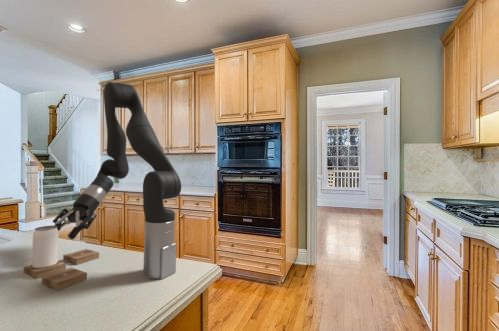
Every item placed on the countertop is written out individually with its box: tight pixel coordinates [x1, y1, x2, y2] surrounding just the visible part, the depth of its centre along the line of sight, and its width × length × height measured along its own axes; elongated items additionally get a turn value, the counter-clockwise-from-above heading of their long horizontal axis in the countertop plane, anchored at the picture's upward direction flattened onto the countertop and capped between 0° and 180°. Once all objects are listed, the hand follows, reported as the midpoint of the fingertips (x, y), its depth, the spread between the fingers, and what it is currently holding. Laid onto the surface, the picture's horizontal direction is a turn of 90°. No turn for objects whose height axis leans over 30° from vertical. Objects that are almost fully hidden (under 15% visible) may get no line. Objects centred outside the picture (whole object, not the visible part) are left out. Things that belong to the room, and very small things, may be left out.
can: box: [31, 225, 59, 269], centre depth 82 cm, size 6×6×12 cm
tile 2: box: [22, 260, 67, 280], centre depth 82 cm, size 8×8×2 cm
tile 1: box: [41, 267, 88, 291], centre depth 75 cm, size 8×8×2 cm
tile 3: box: [62, 248, 100, 266], centre depth 93 cm, size 8×8×2 cm
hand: (60, 236), depth 86 cm, fingers open, 8 cm apart
